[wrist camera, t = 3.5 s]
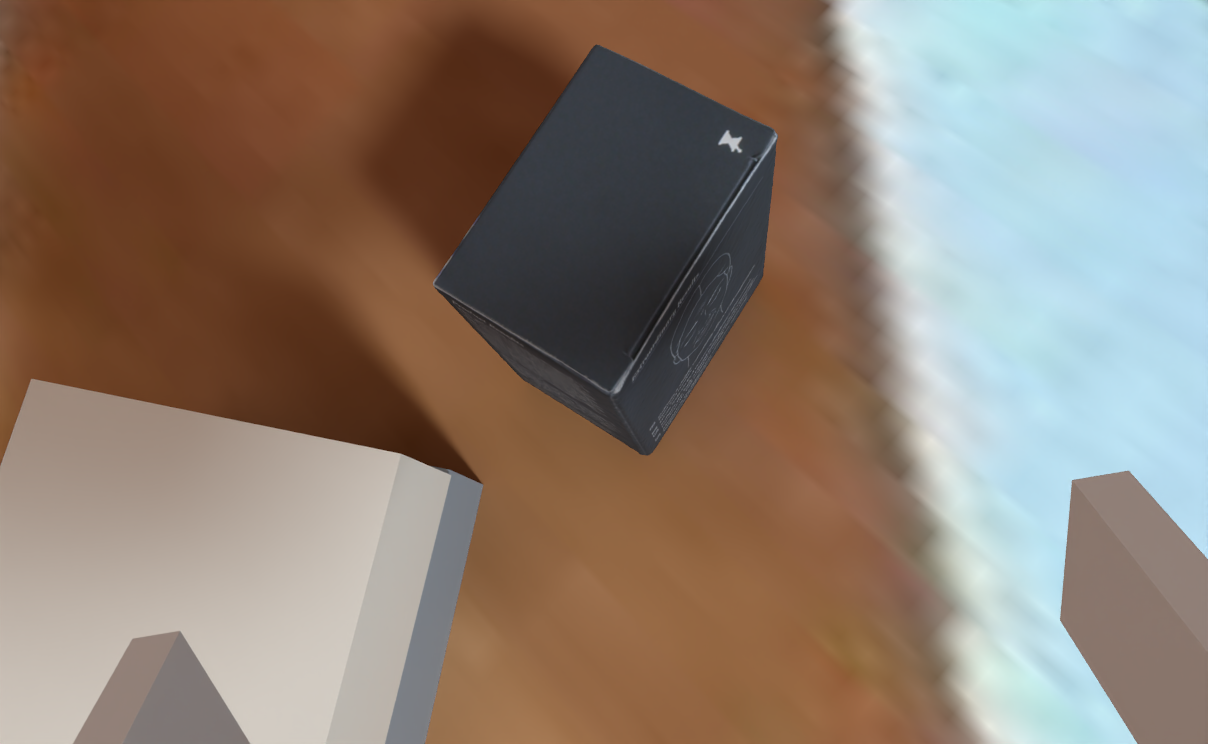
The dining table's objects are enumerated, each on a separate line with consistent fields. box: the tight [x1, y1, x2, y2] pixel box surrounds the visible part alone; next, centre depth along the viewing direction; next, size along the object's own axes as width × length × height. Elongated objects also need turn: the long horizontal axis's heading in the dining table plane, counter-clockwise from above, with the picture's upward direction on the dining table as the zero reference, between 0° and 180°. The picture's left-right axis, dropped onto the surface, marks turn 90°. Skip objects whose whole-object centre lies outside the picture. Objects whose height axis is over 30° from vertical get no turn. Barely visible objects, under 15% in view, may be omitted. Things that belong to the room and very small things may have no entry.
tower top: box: [0, 379, 451, 744], centre depth 25 cm, size 11×11×4 cm
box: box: [433, 45, 778, 455], centre depth 27 cm, size 8×6×11 cm
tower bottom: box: [385, 466, 483, 744], centre depth 29 cm, size 11×11×4 cm
